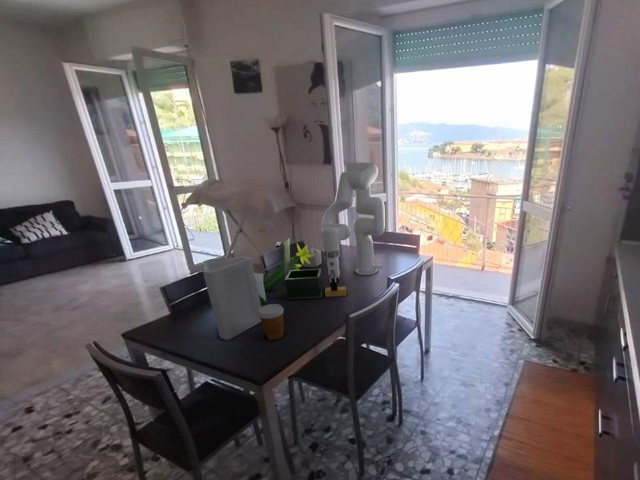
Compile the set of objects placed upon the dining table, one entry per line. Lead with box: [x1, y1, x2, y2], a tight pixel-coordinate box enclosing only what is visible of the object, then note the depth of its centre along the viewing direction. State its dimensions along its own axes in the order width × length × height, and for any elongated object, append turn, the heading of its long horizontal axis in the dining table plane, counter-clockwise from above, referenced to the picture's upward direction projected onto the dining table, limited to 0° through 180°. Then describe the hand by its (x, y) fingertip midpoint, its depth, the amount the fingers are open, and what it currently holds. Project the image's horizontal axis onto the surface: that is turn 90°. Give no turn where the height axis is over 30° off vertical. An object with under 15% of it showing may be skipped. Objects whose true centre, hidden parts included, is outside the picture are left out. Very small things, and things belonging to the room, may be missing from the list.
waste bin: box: [284, 268, 324, 301], centre depth 177 cm, size 16×13×11 cm
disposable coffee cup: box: [258, 303, 285, 341], centre depth 139 cm, size 10×10×12 cm
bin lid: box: [275, 237, 291, 279], centre depth 170 cm, size 16×13×5 cm
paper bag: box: [201, 256, 262, 341], centre depth 144 cm, size 19×15×28 cm
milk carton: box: [254, 272, 269, 307], centre depth 156 cm, size 9×9×20 cm
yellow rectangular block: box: [324, 286, 347, 298], centre depth 177 cm, size 10×4×3 cm, turn 96°
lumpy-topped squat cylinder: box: [301, 248, 323, 268], centre depth 221 cm, size 10×13×9 cm
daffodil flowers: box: [263, 242, 313, 292], centre depth 194 cm, size 17×15×35 cm
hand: (334, 286), depth 176 cm, fingers open, 9 cm apart
